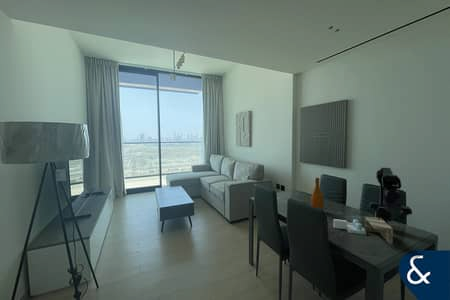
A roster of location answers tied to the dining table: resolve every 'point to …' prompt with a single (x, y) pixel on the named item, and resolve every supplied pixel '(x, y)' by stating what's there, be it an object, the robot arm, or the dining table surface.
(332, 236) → the dining table surface
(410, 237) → the dining table surface
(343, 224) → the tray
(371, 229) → the cream wedge slab
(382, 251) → the dining table surface
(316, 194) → the wine bottle
